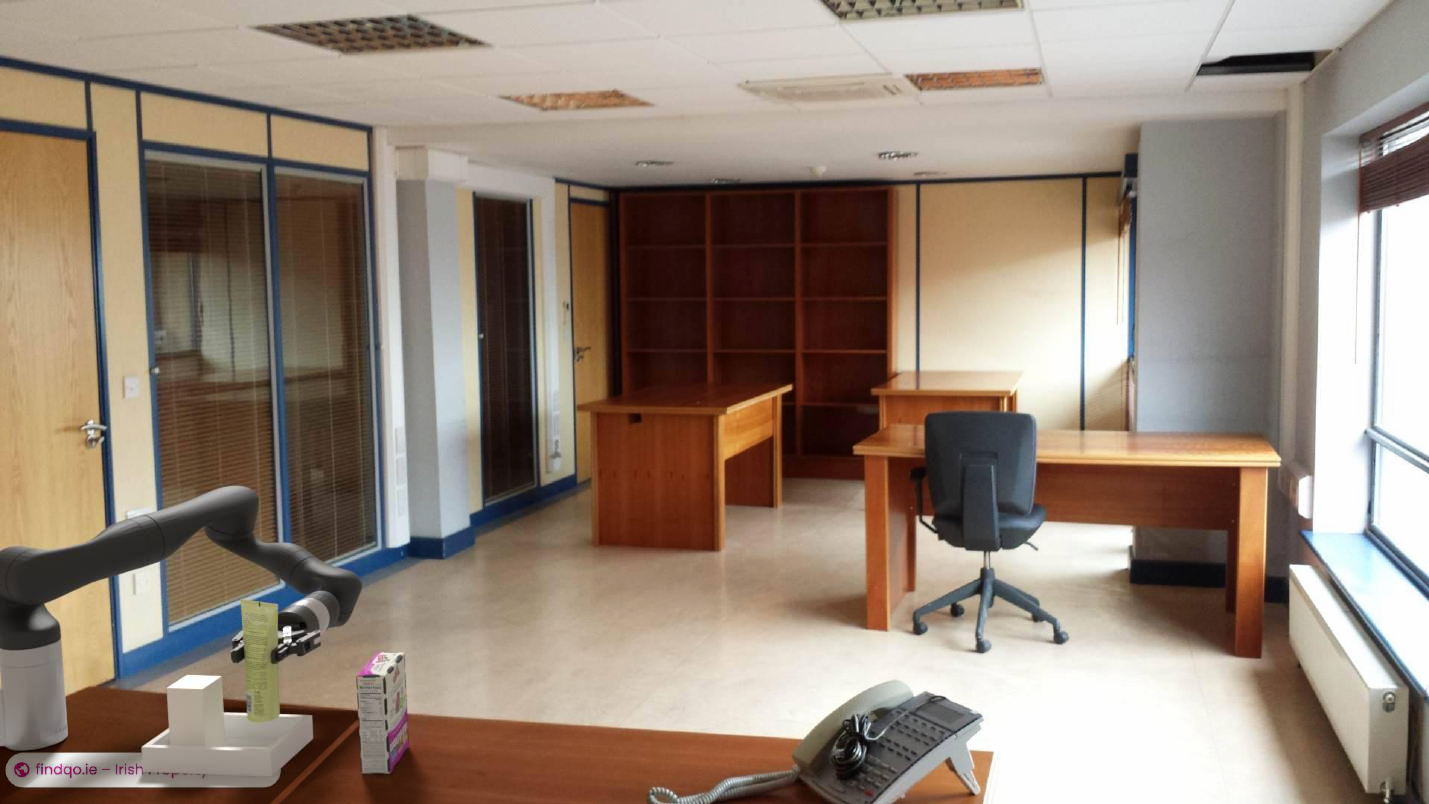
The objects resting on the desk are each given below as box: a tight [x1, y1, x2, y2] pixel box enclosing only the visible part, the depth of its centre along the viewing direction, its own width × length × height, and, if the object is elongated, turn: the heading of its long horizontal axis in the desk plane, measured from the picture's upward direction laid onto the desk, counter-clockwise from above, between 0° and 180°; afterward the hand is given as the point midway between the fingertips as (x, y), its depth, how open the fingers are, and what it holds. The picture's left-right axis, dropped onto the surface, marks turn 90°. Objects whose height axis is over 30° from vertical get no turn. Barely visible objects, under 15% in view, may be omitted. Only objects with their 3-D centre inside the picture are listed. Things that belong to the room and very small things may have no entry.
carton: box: [166, 674, 225, 747], centre depth 192 cm, size 6×6×12 cm
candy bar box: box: [355, 651, 410, 775], centre depth 191 cm, size 11×5×16 cm, turn 179°
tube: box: [240, 598, 281, 723], centre depth 191 cm, size 6×5×20 cm
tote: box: [141, 711, 314, 777], centre depth 192 cm, size 21×15×5 cm
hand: (253, 657), depth 188 cm, fingers closed on tube, 5 cm apart
